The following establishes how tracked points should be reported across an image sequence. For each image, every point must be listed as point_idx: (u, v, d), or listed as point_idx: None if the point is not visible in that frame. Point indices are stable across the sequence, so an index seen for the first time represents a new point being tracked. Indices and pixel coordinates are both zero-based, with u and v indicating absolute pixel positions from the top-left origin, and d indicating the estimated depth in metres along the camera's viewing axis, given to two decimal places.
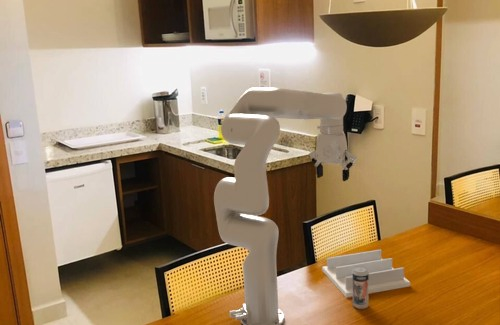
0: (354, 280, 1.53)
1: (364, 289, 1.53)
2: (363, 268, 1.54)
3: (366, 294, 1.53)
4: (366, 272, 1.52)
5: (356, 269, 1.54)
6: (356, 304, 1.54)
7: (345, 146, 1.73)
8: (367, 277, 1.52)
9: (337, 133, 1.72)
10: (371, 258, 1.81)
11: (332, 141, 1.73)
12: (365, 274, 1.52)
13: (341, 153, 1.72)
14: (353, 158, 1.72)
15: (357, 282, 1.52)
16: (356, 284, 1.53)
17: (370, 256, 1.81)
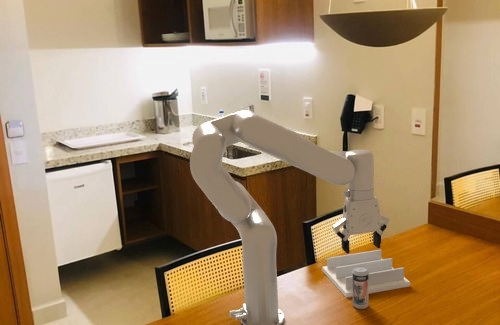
0: (354, 280, 1.53)
1: (364, 289, 1.53)
2: (363, 268, 1.54)
3: (366, 294, 1.53)
4: (366, 272, 1.52)
5: (356, 269, 1.54)
6: (356, 304, 1.54)
7: None
8: (367, 277, 1.52)
9: (374, 196, 1.47)
10: (371, 258, 1.81)
11: (370, 206, 1.46)
12: (365, 274, 1.52)
13: (380, 218, 1.48)
14: (387, 219, 1.51)
15: (357, 282, 1.52)
16: (356, 284, 1.53)
17: (370, 256, 1.81)
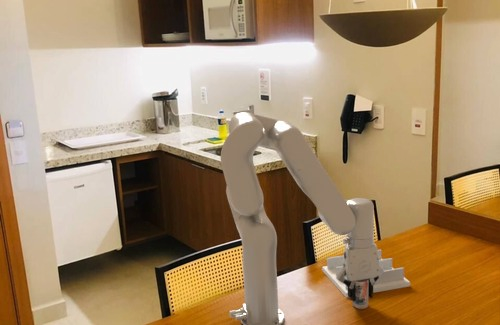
0: None
1: (364, 289, 1.53)
2: None
3: (366, 294, 1.53)
4: None
5: None
6: (356, 304, 1.54)
7: None
8: None
9: (373, 243, 1.50)
10: None
11: (369, 254, 1.50)
12: None
13: None
14: (382, 271, 1.55)
15: (357, 282, 1.52)
16: (356, 284, 1.53)
17: None
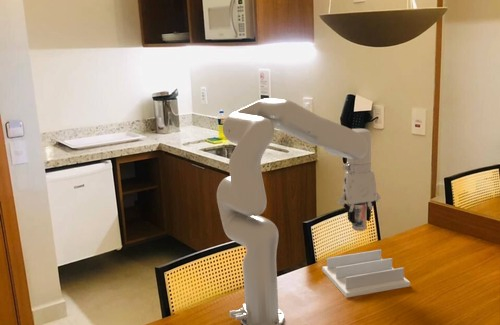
0: None
1: (362, 212, 1.68)
2: None
3: (364, 217, 1.69)
4: None
5: None
6: (355, 226, 1.70)
7: None
8: None
9: (370, 170, 1.66)
10: (371, 258, 1.81)
11: (367, 179, 1.65)
12: None
13: None
14: (379, 197, 1.70)
15: (356, 205, 1.68)
16: (355, 207, 1.68)
17: (370, 256, 1.81)
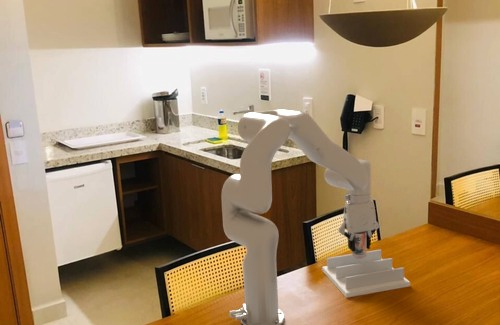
0: None
1: (362, 240, 1.72)
2: None
3: (364, 245, 1.73)
4: None
5: None
6: (355, 254, 1.73)
7: None
8: None
9: (370, 199, 1.69)
10: (371, 258, 1.81)
11: (367, 208, 1.69)
12: None
13: (375, 218, 1.71)
14: (378, 225, 1.74)
15: (357, 234, 1.71)
16: (355, 236, 1.72)
17: (370, 256, 1.81)
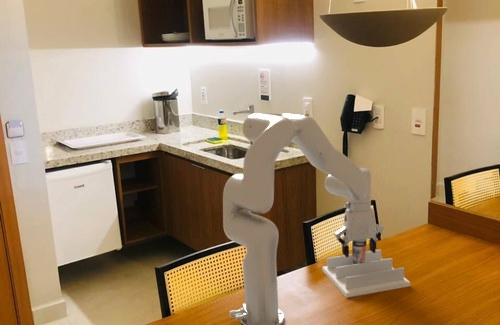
0: (353, 245, 1.73)
1: (362, 254, 1.73)
2: None
3: (364, 258, 1.73)
4: None
5: None
6: None
7: None
8: (365, 243, 1.73)
9: (370, 207, 1.70)
10: (371, 258, 1.81)
11: (367, 216, 1.70)
12: (363, 240, 1.72)
13: (375, 226, 1.72)
14: (382, 228, 1.74)
15: (356, 247, 1.72)
16: (355, 249, 1.73)
17: (370, 256, 1.81)
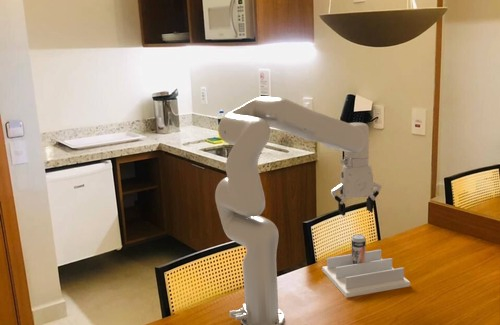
0: (353, 246, 1.73)
1: (361, 254, 1.72)
2: (361, 236, 1.74)
3: (363, 258, 1.73)
4: (363, 239, 1.72)
5: (355, 236, 1.74)
6: None
7: None
8: (364, 243, 1.72)
9: None
10: (371, 258, 1.81)
11: (364, 173, 1.64)
12: (362, 241, 1.72)
13: (373, 184, 1.66)
14: (379, 186, 1.69)
15: (356, 248, 1.72)
16: (354, 250, 1.73)
17: (370, 256, 1.81)
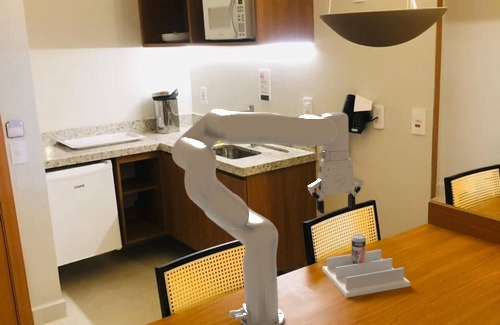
0: (353, 246, 1.73)
1: (361, 254, 1.73)
2: (361, 236, 1.74)
3: (363, 258, 1.73)
4: (363, 239, 1.72)
5: (354, 236, 1.74)
6: None
7: None
8: (364, 243, 1.72)
9: (348, 157, 1.51)
10: (371, 258, 1.81)
11: (344, 167, 1.51)
12: (362, 241, 1.72)
13: (354, 179, 1.52)
14: (361, 181, 1.55)
15: (355, 247, 1.72)
16: (354, 249, 1.73)
17: (370, 256, 1.81)
